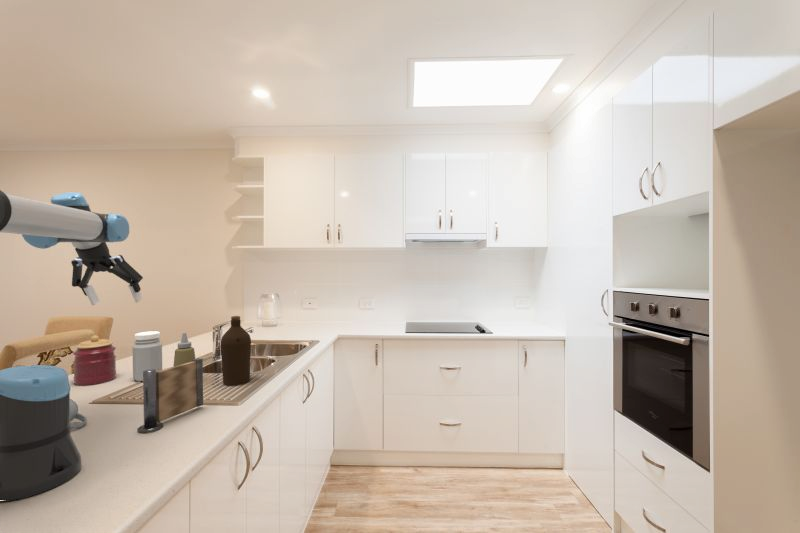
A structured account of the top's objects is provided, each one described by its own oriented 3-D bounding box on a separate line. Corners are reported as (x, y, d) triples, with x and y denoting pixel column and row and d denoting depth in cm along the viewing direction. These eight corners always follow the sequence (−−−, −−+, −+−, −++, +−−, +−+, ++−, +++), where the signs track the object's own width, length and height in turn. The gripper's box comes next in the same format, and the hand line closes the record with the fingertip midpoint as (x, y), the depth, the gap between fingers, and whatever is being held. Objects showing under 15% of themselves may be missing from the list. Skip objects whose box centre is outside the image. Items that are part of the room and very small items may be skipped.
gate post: (163, 429, 103) (162, 371, 102) (137, 435, 99) (135, 375, 99) (163, 421, 108) (162, 366, 107) (137, 427, 104) (136, 369, 104)
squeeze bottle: (184, 383, 142) (183, 336, 142) (168, 381, 144) (167, 334, 144) (201, 377, 149) (200, 332, 149) (186, 375, 152) (185, 331, 152)
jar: (131, 378, 149) (130, 333, 149) (160, 373, 155) (159, 329, 155) (134, 384, 142) (134, 336, 141) (165, 378, 148) (164, 333, 148)
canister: (101, 374, 155) (100, 331, 154) (124, 377, 151) (123, 333, 150) (65, 384, 142) (64, 337, 142) (88, 387, 138) (87, 339, 138)
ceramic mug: (29, 438, 98) (29, 409, 98) (45, 425, 106) (45, 398, 106) (80, 432, 102) (80, 403, 102) (91, 420, 110) (91, 394, 110)
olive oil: (257, 379, 146) (256, 315, 145) (234, 388, 136) (233, 319, 136) (238, 376, 150) (237, 313, 150) (214, 384, 141) (213, 317, 141)
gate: (160, 422, 105) (159, 371, 105) (155, 421, 106) (154, 370, 106) (203, 404, 118) (202, 358, 118) (198, 403, 119) (197, 358, 119)
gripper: (139, 236, 118) (161, 292, 128) (54, 240, 116) (85, 297, 127) (126, 247, 111) (151, 305, 122) (36, 252, 109) (70, 310, 120)
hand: (117, 301), depth 124 cm, fingers open, 13 cm apart
